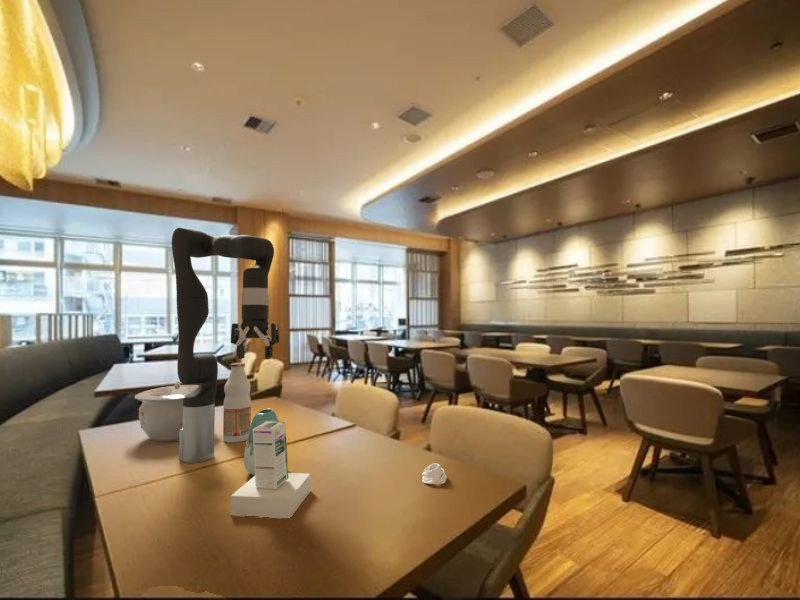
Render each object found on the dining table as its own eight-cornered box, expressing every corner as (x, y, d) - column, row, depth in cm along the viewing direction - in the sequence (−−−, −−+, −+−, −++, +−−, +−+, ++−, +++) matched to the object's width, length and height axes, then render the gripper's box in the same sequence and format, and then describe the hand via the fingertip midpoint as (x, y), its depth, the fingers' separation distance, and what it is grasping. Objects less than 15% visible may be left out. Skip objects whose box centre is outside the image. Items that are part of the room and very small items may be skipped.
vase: (245, 483, 107) (246, 417, 108) (241, 469, 117) (242, 408, 118) (289, 475, 112) (289, 412, 113) (281, 462, 123) (281, 404, 123)
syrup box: (276, 489, 93) (274, 428, 93) (254, 488, 94) (252, 427, 94) (288, 479, 98) (286, 421, 98) (267, 477, 99) (265, 420, 100)
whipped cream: (442, 492, 104) (443, 474, 103) (417, 486, 106) (418, 469, 105) (448, 478, 111) (449, 461, 111) (425, 473, 113) (426, 456, 113)
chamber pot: (157, 453, 131) (158, 391, 132) (118, 440, 145) (120, 383, 146) (232, 432, 155) (232, 379, 155) (192, 422, 169) (193, 374, 170)
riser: (230, 518, 90) (230, 495, 90) (259, 491, 104) (259, 471, 104) (289, 521, 88) (289, 498, 88) (310, 493, 102) (310, 473, 102)
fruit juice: (220, 444, 140) (221, 365, 141) (226, 436, 149) (227, 362, 150) (248, 442, 142) (249, 364, 143) (252, 434, 151) (253, 361, 152)
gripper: (225, 303, 114) (225, 359, 113) (271, 303, 111) (270, 360, 111) (240, 304, 121) (239, 357, 120) (283, 303, 119) (283, 357, 118)
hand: (254, 358), depth 116 cm, fingers open, 8 cm apart
